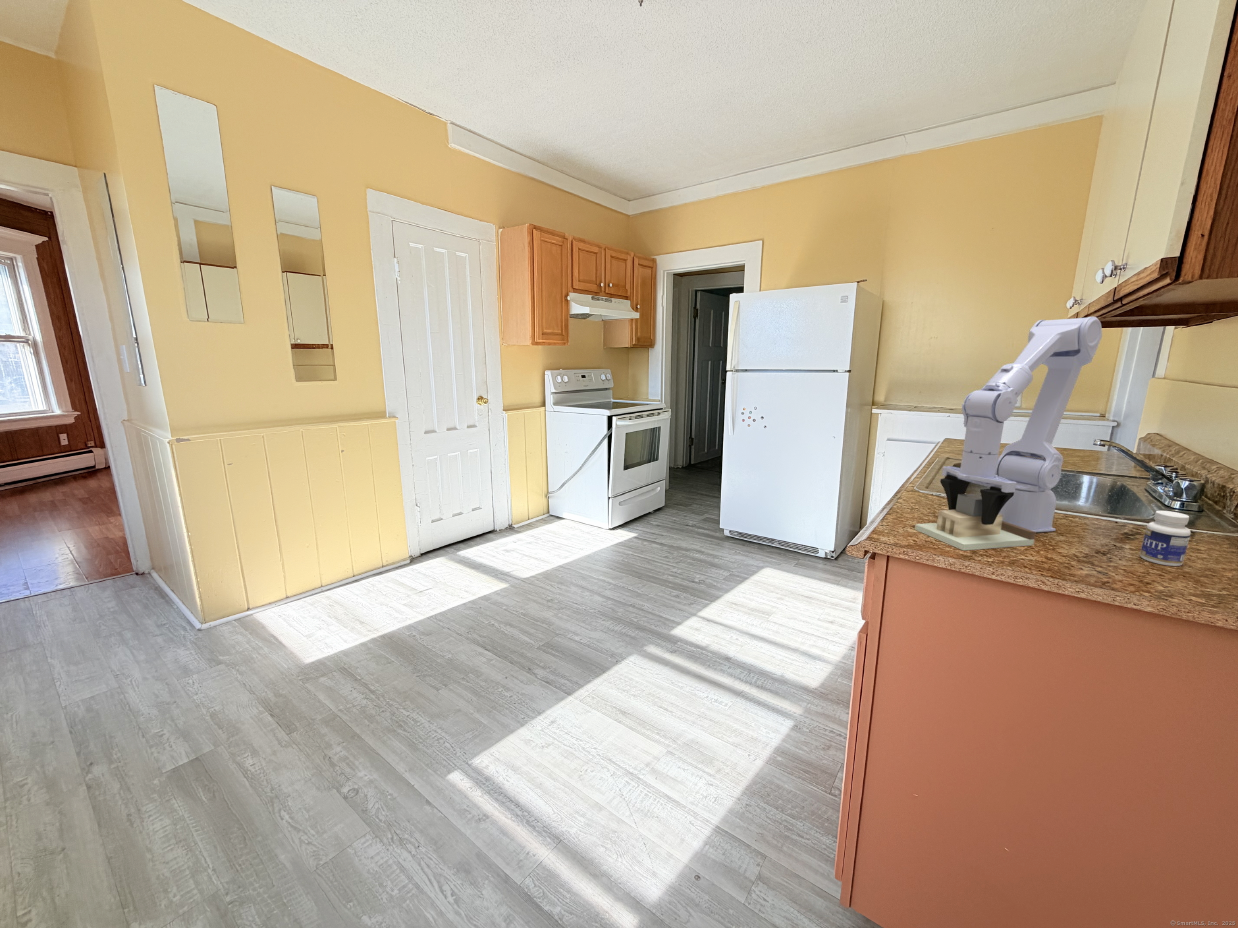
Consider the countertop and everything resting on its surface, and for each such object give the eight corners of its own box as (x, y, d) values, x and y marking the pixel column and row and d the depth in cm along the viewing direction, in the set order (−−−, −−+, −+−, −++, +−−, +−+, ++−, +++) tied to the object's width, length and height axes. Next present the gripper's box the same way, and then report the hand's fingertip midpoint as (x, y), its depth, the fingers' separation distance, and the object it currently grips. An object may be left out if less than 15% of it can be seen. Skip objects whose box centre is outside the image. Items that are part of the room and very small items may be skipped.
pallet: (977, 526, 103) (980, 507, 102) (999, 534, 98) (1003, 515, 97) (936, 528, 101) (939, 510, 100) (956, 537, 96) (959, 517, 95)
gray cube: (972, 509, 100) (975, 493, 100) (990, 515, 97) (992, 498, 96) (955, 510, 100) (958, 494, 99) (972, 516, 96) (975, 499, 95)
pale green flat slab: (978, 525, 107) (980, 513, 106) (1033, 545, 95) (1035, 531, 95) (914, 529, 104) (916, 517, 104) (963, 550, 93) (965, 536, 92)
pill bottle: (1130, 554, 91) (1141, 509, 89) (1160, 555, 90) (1171, 509, 89) (1161, 566, 85) (1172, 518, 84) (1192, 566, 85) (1204, 518, 83)
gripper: (933, 446, 102) (924, 508, 105) (997, 459, 88) (986, 531, 91) (962, 445, 103) (953, 506, 106) (1030, 458, 89) (1017, 528, 92)
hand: (970, 518), depth 99 cm, fingers open, 7 cm apart
